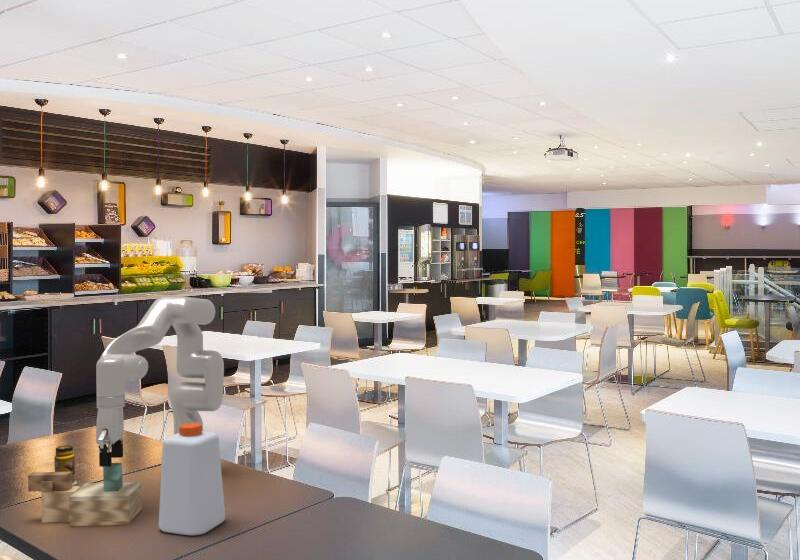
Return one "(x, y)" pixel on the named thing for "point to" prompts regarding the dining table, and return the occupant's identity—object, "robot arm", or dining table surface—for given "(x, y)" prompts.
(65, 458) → the condiment
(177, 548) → the dining table surface
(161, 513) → the plastic bottle
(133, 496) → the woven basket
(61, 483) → the brown wooden bar
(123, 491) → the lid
